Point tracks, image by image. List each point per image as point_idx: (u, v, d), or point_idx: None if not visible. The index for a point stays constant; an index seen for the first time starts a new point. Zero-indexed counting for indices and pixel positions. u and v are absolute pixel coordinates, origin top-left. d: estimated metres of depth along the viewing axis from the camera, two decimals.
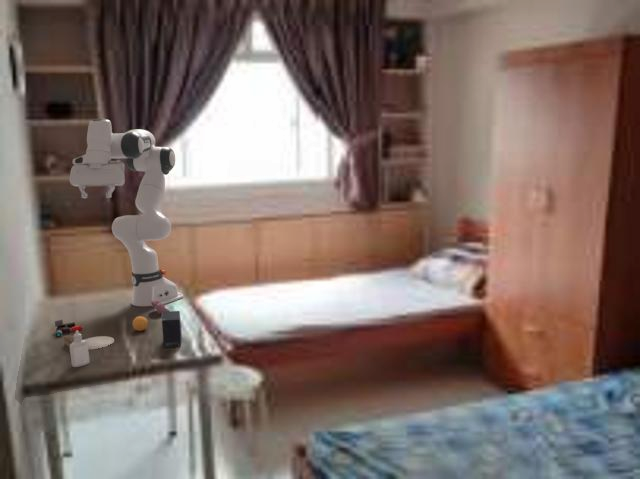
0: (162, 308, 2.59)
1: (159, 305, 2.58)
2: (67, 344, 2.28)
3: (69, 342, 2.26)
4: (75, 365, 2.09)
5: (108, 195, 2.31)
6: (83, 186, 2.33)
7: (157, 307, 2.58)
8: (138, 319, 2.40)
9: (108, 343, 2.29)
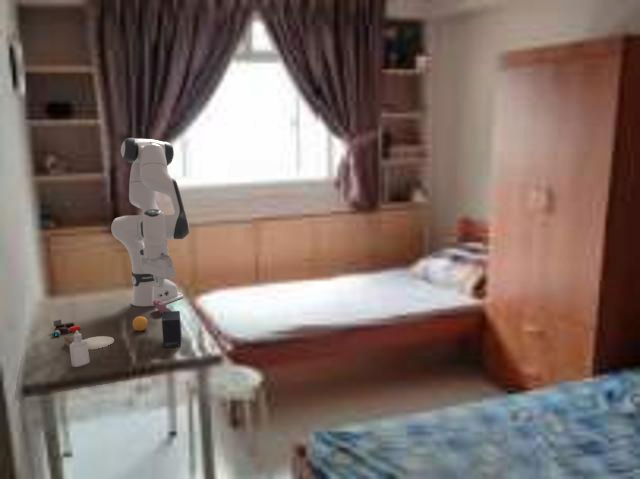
0: (164, 308, 2.59)
1: (161, 305, 2.59)
2: (67, 344, 2.28)
3: (69, 342, 2.26)
4: (75, 365, 2.09)
5: (158, 286, 2.44)
6: (156, 275, 2.45)
7: (159, 307, 2.58)
8: (138, 319, 2.40)
9: (108, 343, 2.29)
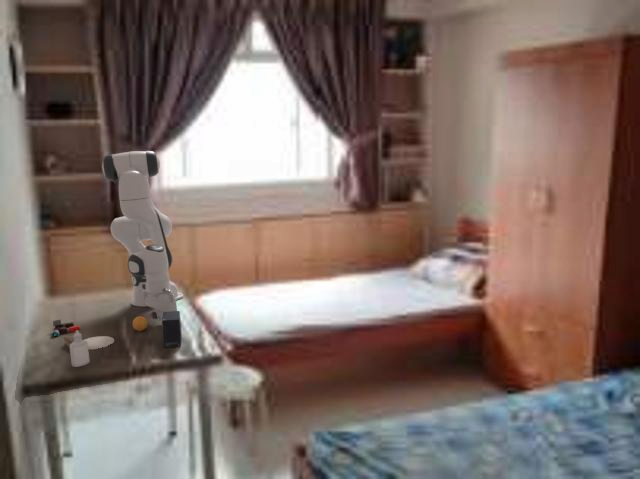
0: None
1: None
2: (67, 344, 2.28)
3: (69, 342, 2.26)
4: (75, 365, 2.09)
5: (160, 320, 2.47)
6: None
7: None
8: (138, 319, 2.40)
9: (108, 343, 2.29)
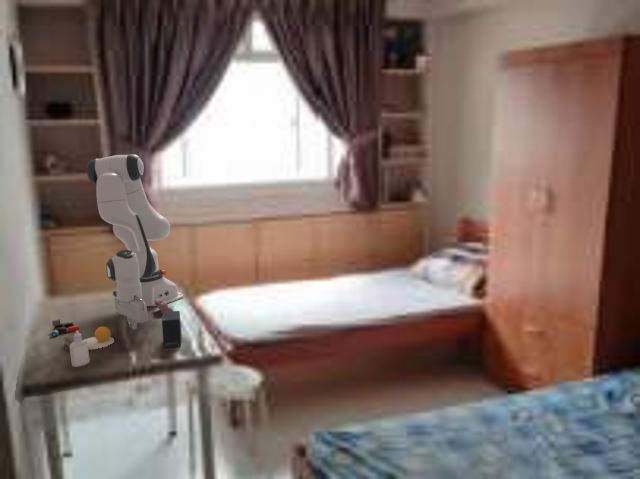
0: (165, 307, 2.59)
1: (162, 304, 2.59)
2: (67, 344, 2.28)
3: (69, 342, 2.26)
4: (75, 365, 2.09)
5: (132, 328, 2.39)
6: None
7: (161, 306, 2.59)
8: (107, 328, 2.31)
9: (108, 343, 2.29)
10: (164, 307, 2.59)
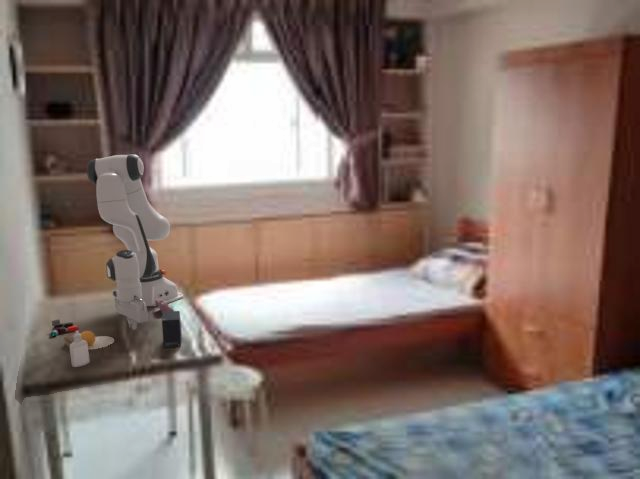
0: (166, 307, 2.60)
1: (163, 304, 2.59)
2: (67, 344, 2.28)
3: (69, 342, 2.26)
4: (75, 365, 2.09)
5: (132, 328, 2.39)
6: None
7: (161, 306, 2.59)
8: None
9: (108, 343, 2.29)
10: (165, 307, 2.59)
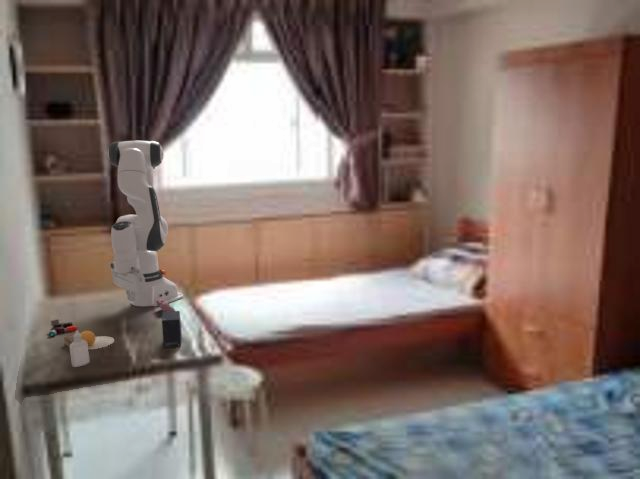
0: (167, 307, 2.60)
1: (164, 304, 2.60)
2: (67, 344, 2.28)
3: (69, 342, 2.26)
4: (75, 365, 2.09)
5: (130, 300, 2.37)
6: None
7: (162, 306, 2.59)
8: None
9: (108, 343, 2.29)
10: (166, 307, 2.60)
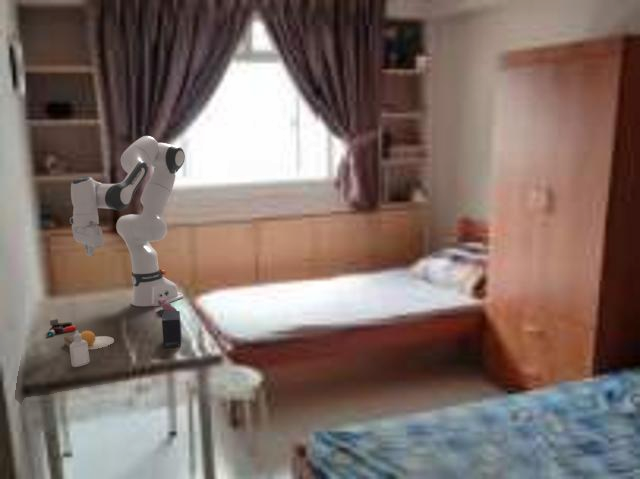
0: (169, 307, 2.60)
1: (166, 304, 2.60)
2: (67, 344, 2.28)
3: (69, 342, 2.26)
4: (75, 365, 2.09)
5: (89, 254, 2.40)
6: (87, 244, 2.41)
7: (164, 306, 2.59)
8: None
9: (108, 343, 2.29)
10: (167, 306, 2.60)
